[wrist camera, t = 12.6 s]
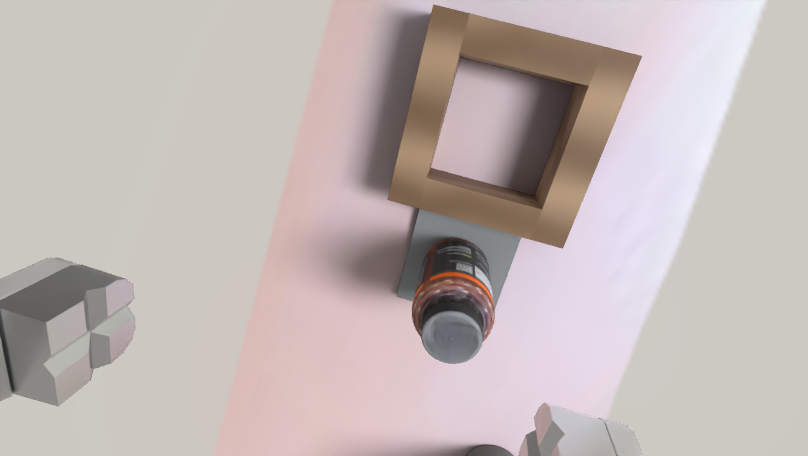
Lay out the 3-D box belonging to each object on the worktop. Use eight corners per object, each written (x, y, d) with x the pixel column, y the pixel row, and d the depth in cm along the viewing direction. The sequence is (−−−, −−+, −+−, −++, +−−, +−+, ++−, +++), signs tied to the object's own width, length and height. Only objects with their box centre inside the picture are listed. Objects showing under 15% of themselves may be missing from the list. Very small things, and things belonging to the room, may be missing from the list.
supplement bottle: (432, 302, 39) (418, 383, 28) (414, 244, 37) (392, 307, 27) (496, 289, 38) (506, 370, 27) (480, 229, 36) (485, 289, 25)
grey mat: (420, 206, 37) (419, 208, 36) (520, 233, 36) (521, 236, 36) (397, 293, 40) (396, 296, 39) (488, 320, 39) (489, 323, 39)
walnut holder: (437, 13, 32) (433, 4, 28) (621, 59, 31) (641, 56, 27) (395, 187, 37) (387, 199, 33) (553, 231, 36) (562, 248, 32)
